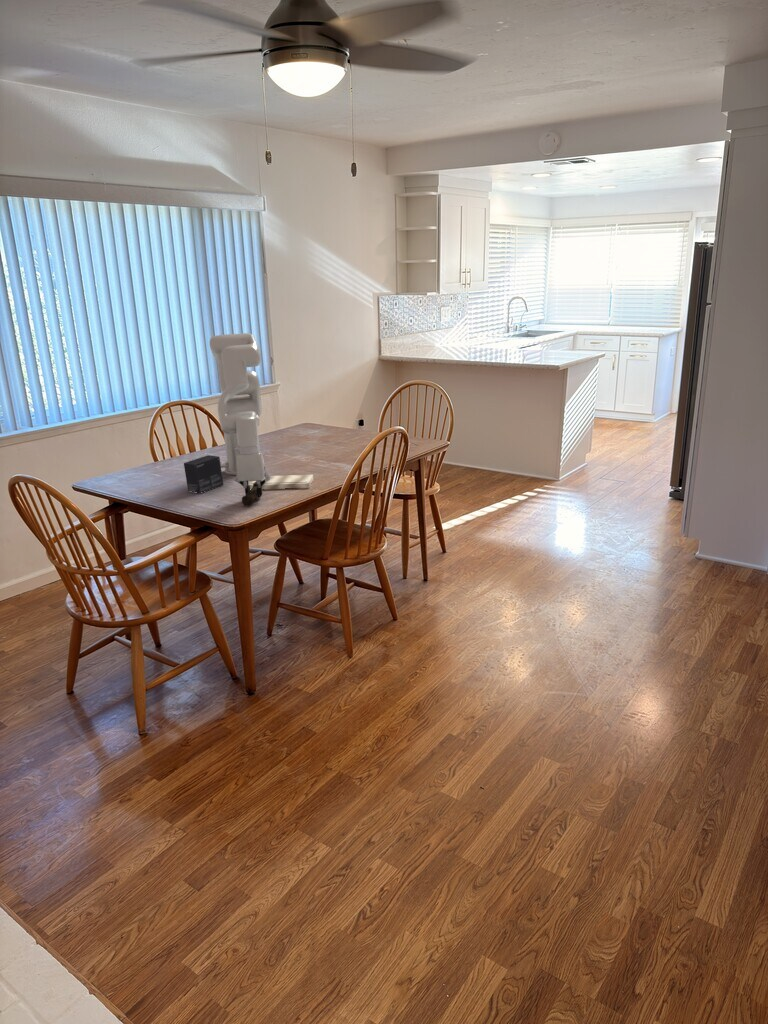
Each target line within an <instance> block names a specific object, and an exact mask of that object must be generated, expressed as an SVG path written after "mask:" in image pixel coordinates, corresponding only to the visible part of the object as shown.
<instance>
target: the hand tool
mask: <svg viewBox="0 0 768 1024" xmlns="http://www.w3.org/2000/svg"><path fill="white" fill-rule="evenodd" d="M257 486H258V485H257V481H256V482H255V483H253V487H252V489H251V490H250V491H249V492H248V493H247V494H245V495H243V496H242V497H241V503H242V505H243V506H244V507H246V506H247V507H249V506H252V505H253V504H254V501H255V499H256V498H258V496H257Z"/></svg>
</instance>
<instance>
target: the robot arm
mask: <svg viewBox="0 0 768 1024" xmlns="http://www.w3.org/2000/svg"><path fill="white" fill-rule="evenodd" d="M209 348H210V350H211V353H212V355H213V356H214V358H215V360H216V363H217V367H218V368H217V370H218V378H219V388H220V391H221V394H220V396H219V399H218V401H217V414H218V419H219V421H218V422H219V425H220V429H221V431H222V432H223V437H224V445H225V454H226V461H224V462H223V461H222V462H221V461H220V465H221V469H223V468H225V469H224V474H227V475H230V476H231V475H233V476H235V477H234V479H233V481H234V482H236V483H238V484H239V485H240V486H242V487H243V488H244V491H245V495H246V494H247V493H248V492H249V491H250V487H249V485H248V484H249V482H251V481H257V485H258V486H257V498H258V499H261V497H262V496H263V490H262V485H263V484H264V483H265V482H267V481H269V480H270V476H271V475H269V474H268V472H267V470H266V464H265V459H264V455H263V452H262V451H261V450H260V449H261V448H260V442H259V432H258V431H259V430H258V428H259V426H260V417H261V415H262V409H263V408H262V397H261V384H260V379H259V375H258V374H257V373H256V371H253V370H247V368H254V367H258V366H259V365H261V359H262V358H261V352H260V347H259V344H258V343H257V341H256V338H255V337H254V335H253V334H252V333H233V334H231V333H228V334H219V335H214V336H212V337H210V338H209ZM244 395H245V396H244ZM264 478H265V479H264Z"/></svg>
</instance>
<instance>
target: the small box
mask: <svg viewBox="0 0 768 1024" xmlns="http://www.w3.org/2000/svg"><path fill="white" fill-rule="evenodd" d="M220 462H221V459H220V456H216V455H209V454H208V455H205V456H201V457H198V458H194V459H192V460H189V461H186V462H184V463H183V468H184V473H185V480H186V485H187V486H186V487H187V492H188V491H192V492H197V493H196V494H198V493H201V492H203V493H205V492H204V491H206V492H208V491H207V490H209V489H211V490H213V489H212V488H214V489H216V488H215V487H217V488H219V487H222V486H223V485H224V480H223V471H222V468H221V465H220ZM221 485H222V486H221ZM218 486H219V487H218ZM209 491H210V490H209ZM192 492H191V493H192ZM201 494H202V493H201Z"/></svg>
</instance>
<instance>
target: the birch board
mask: <svg viewBox="0 0 768 1024" xmlns="http://www.w3.org/2000/svg"><path fill="white" fill-rule="evenodd" d="M269 476H270V480H269V481H267V482H265V483H264V484H263V485H262V489H264V490H286V489H285V488H297V489H310V488H311V486H312V484H313V482H314V474H293V475H287V474H286V475H269ZM264 479H265V478H264ZM312 481H313V482H312ZM255 482H256V481H249V482H248V485H249V487H250V489H252V487H253V483H255ZM311 483H312V484H311ZM310 485H311V486H310Z"/></svg>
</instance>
